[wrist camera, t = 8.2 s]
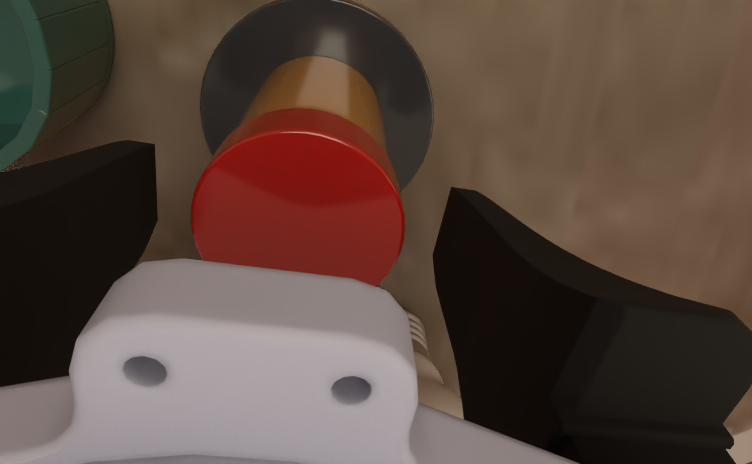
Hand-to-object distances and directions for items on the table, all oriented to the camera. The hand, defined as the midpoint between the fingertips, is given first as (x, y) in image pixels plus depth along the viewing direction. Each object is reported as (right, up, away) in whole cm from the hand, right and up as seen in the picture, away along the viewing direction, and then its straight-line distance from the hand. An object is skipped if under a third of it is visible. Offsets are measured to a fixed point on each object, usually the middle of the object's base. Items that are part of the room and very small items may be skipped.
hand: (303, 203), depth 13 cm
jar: (0, +3, +5) cm, 6 cm away
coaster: (0, +3, +6) cm, 7 cm away
